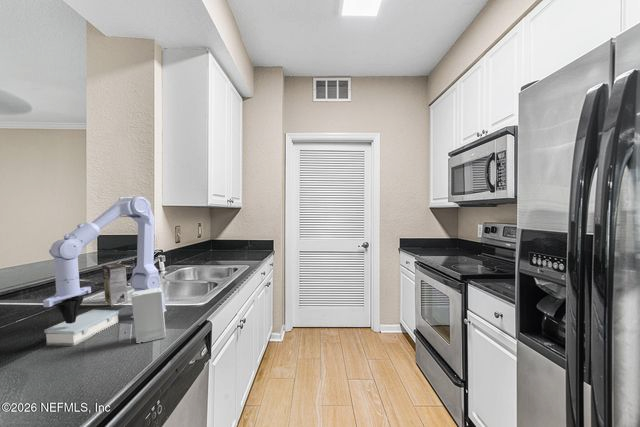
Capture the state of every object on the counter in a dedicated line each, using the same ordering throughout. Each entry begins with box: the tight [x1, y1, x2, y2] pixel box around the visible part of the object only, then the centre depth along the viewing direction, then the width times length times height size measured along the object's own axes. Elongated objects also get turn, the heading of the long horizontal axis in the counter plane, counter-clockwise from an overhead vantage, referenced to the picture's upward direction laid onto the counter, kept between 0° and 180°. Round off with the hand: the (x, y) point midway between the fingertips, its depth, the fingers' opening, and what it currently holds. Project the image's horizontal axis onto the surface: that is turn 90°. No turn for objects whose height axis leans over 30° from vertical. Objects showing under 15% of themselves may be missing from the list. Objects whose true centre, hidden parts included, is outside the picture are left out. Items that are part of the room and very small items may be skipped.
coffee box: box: [102, 262, 129, 307], centre depth 139 cm, size 9×6×16 cm
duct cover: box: [44, 309, 120, 334], centre depth 106 cm, size 10×18×1 cm, turn 173°
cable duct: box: [45, 313, 119, 347], centre depth 107 cm, size 10×18×4 cm, turn 173°
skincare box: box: [130, 286, 167, 344], centre depth 100 cm, size 8×6×15 cm
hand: (70, 322), depth 100 cm, fingers closed
